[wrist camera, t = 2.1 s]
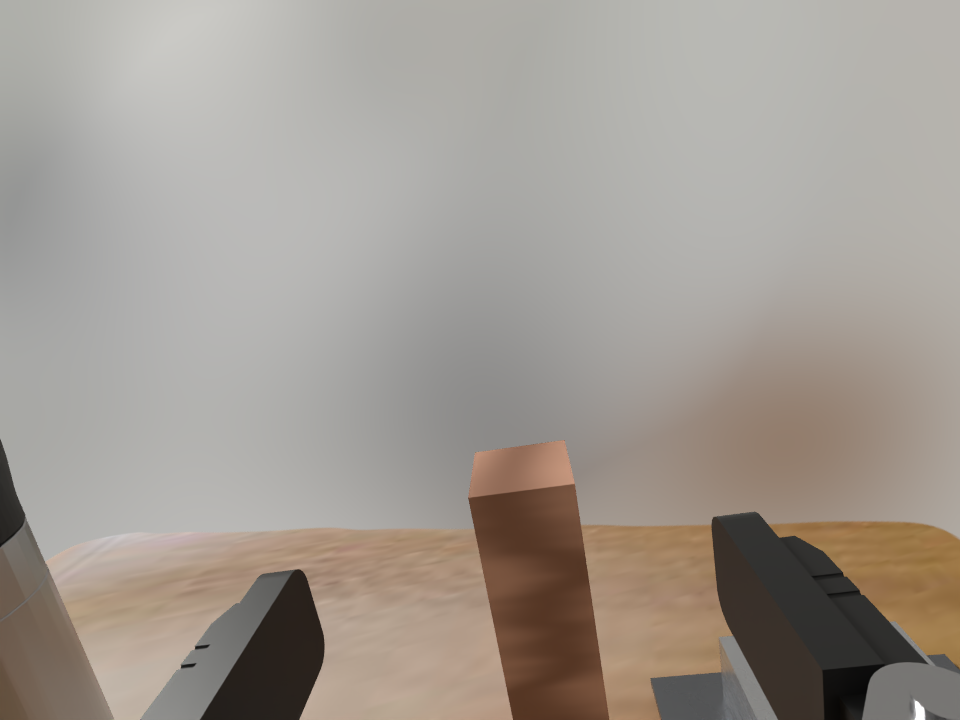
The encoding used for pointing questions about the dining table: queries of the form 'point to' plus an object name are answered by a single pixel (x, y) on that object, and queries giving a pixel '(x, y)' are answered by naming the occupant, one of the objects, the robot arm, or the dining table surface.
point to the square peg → (538, 582)
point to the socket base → (708, 694)
